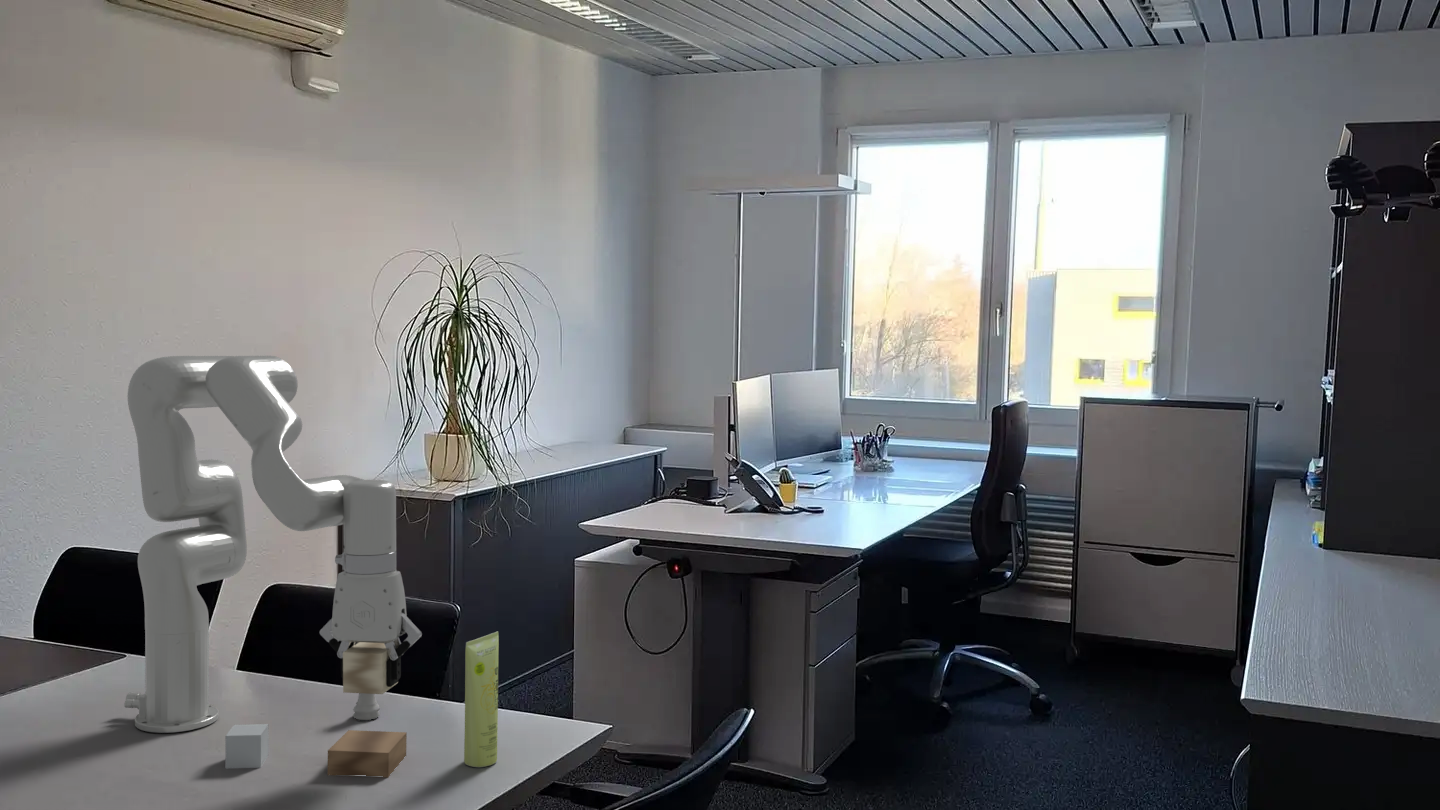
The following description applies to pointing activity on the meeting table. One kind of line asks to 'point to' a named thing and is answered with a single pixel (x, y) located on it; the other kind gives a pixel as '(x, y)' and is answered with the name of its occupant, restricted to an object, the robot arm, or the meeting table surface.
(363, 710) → the rook chess piece
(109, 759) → the meeting table surface
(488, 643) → the tube
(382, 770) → the walnut block
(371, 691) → the birch block
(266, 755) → the grey block
